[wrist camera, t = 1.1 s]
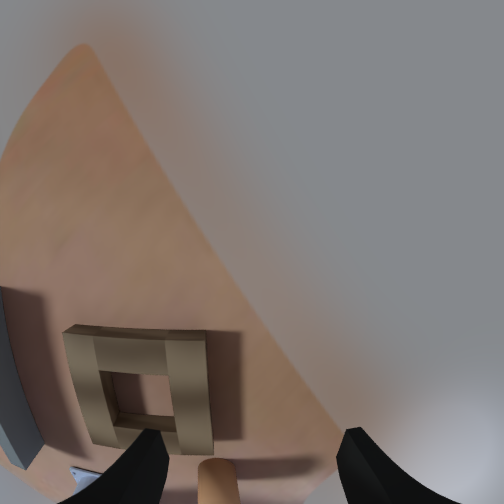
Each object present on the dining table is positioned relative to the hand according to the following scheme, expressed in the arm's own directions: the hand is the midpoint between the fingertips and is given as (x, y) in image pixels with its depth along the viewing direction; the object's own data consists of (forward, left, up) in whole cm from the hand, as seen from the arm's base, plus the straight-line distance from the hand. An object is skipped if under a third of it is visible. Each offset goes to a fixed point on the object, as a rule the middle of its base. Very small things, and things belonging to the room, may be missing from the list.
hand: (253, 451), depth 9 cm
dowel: (-16, +2, -14) cm, 21 cm away
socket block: (-5, +8, -14) cm, 17 cm away
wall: (-6, +25, -14) cm, 29 cm away
